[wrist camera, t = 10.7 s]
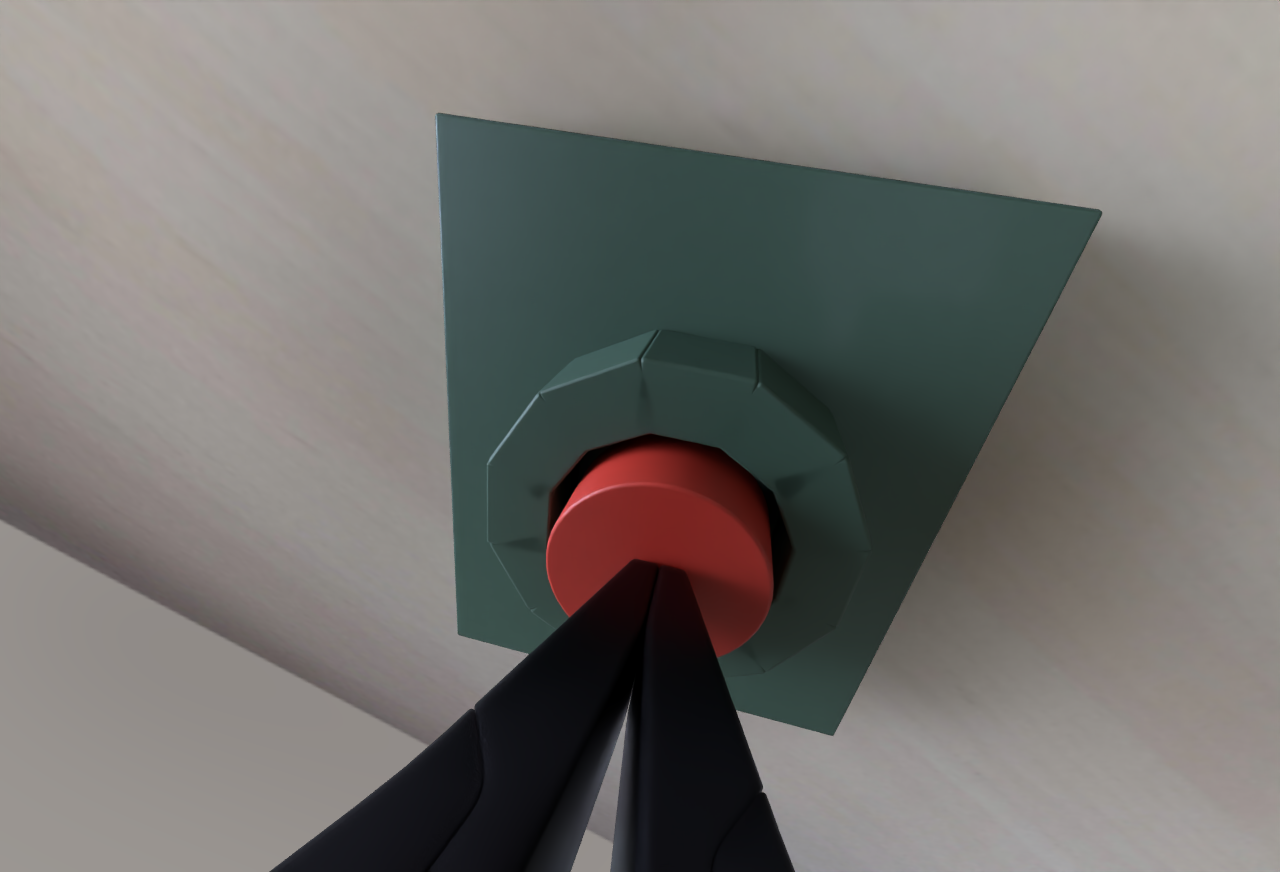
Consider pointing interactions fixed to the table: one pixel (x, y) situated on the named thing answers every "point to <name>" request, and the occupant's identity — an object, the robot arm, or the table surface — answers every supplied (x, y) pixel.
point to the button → (669, 531)
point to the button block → (729, 367)
